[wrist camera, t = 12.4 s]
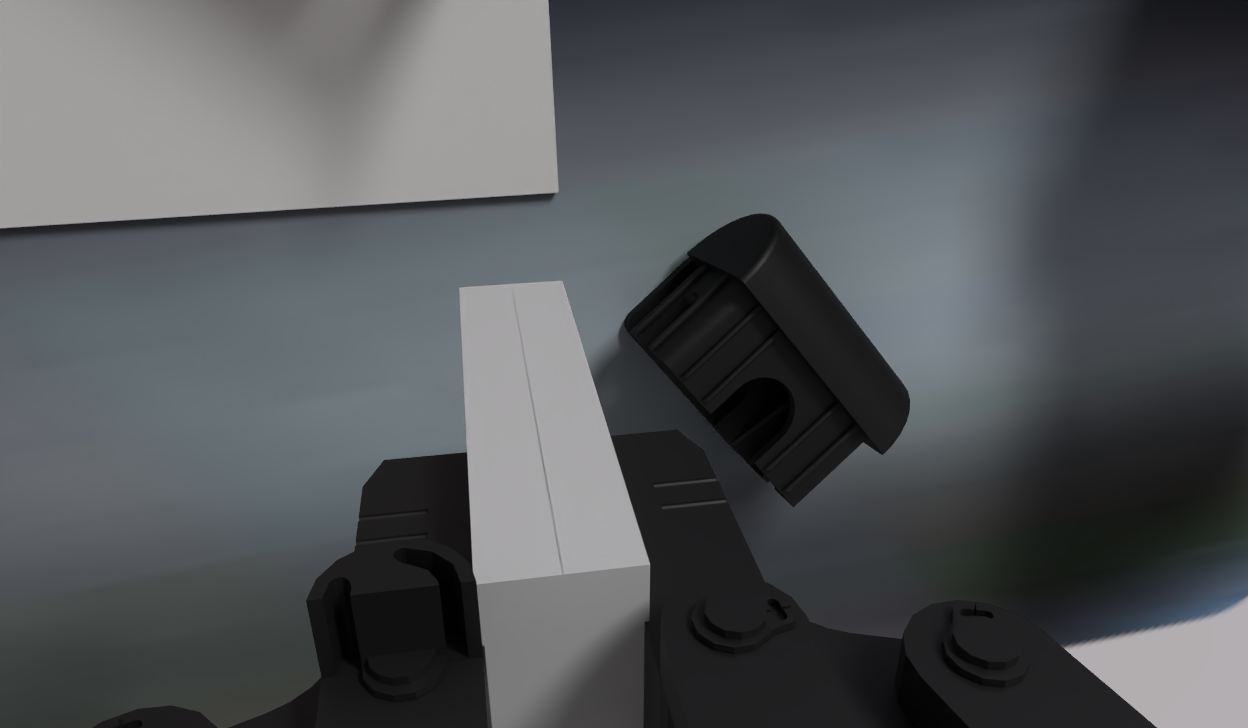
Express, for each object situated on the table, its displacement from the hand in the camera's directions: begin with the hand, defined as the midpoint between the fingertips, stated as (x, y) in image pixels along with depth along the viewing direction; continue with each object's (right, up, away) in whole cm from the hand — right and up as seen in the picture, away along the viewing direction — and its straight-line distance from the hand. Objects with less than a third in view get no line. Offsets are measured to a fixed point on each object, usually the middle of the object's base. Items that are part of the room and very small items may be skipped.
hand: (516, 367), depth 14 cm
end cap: (+7, +1, +28) cm, 29 cm away
